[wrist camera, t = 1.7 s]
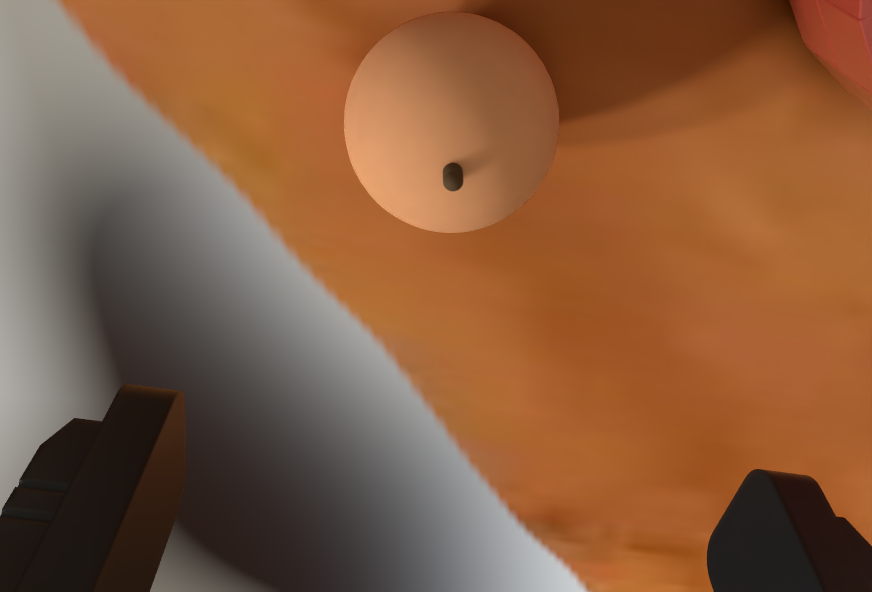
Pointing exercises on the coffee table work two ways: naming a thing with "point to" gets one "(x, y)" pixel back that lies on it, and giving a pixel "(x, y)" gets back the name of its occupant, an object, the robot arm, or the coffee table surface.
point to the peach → (451, 122)
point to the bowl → (840, 41)
